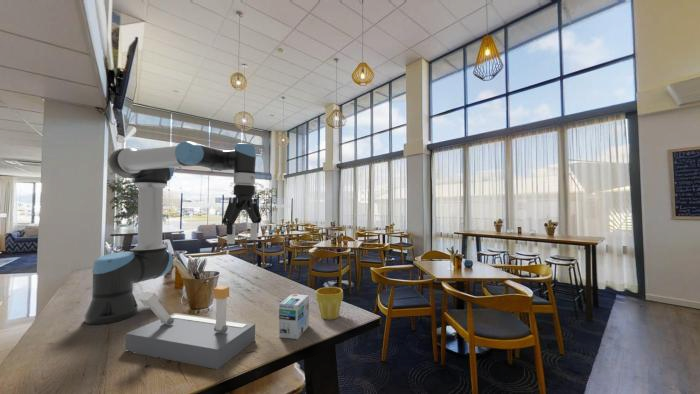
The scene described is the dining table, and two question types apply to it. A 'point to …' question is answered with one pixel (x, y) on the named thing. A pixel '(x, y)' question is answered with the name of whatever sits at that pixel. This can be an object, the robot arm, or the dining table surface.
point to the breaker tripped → (221, 308)
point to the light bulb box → (293, 316)
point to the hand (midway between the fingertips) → (242, 241)
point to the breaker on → (156, 307)
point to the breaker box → (191, 340)
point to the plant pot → (329, 301)
